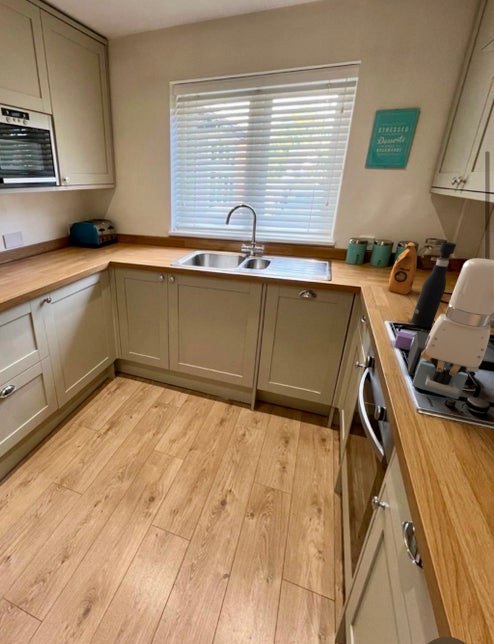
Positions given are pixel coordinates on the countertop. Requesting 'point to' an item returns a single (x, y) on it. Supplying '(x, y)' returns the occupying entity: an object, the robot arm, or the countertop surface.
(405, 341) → the lavender cube
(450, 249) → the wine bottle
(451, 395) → the drawer
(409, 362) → the compartment
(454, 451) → the countertop surface
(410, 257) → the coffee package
